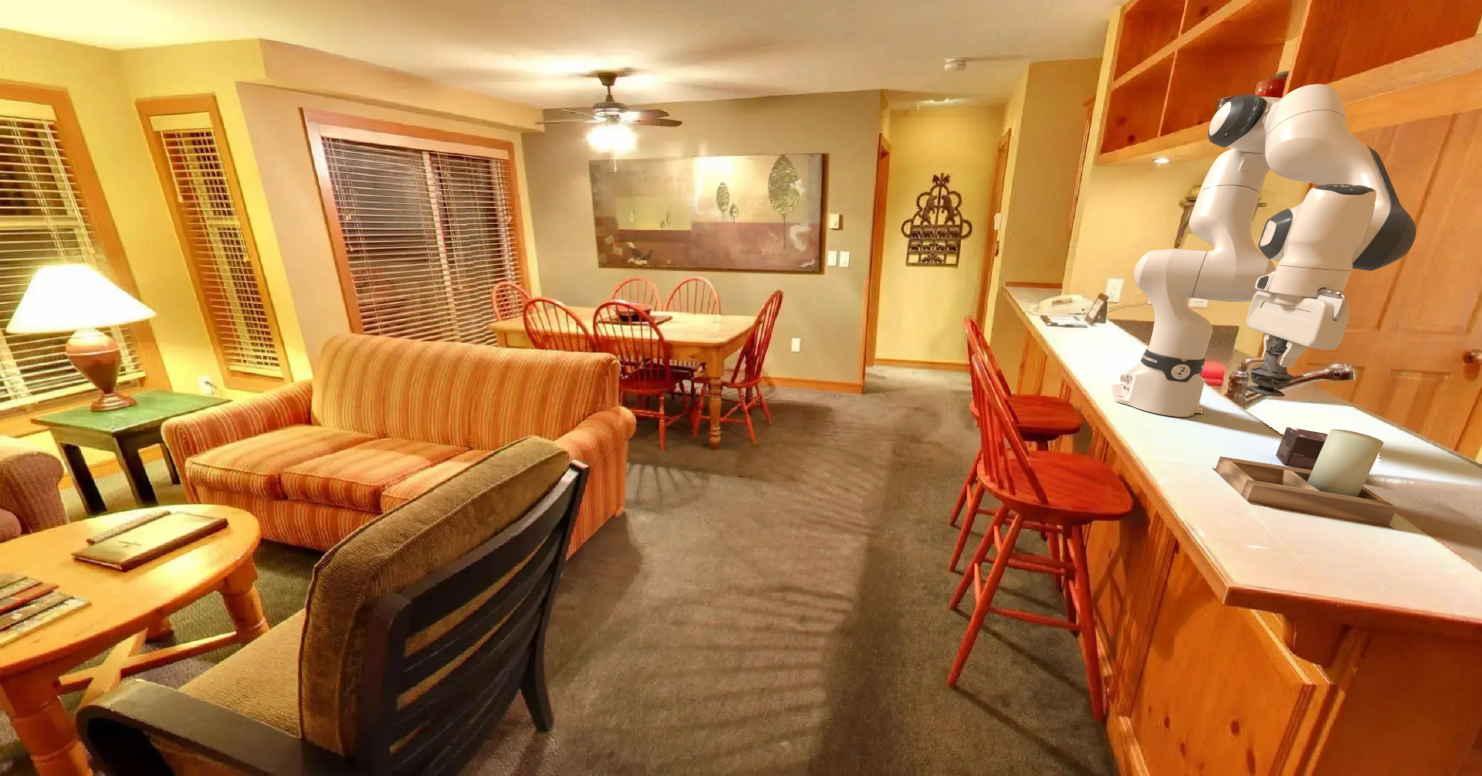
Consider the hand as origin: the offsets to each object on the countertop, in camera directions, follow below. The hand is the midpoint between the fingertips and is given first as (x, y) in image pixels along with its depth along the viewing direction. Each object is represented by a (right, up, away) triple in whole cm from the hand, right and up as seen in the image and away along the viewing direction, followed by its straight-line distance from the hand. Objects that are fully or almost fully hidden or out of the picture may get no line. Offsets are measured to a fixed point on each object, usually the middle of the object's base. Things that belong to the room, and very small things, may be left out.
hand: (1276, 363), depth 95 cm
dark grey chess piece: (0, -5, +2) cm, 6 cm away
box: (+15, -21, +10) cm, 27 cm away
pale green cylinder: (+5, -24, -4) cm, 24 cm away
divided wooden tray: (0, -24, -2) cm, 24 cm away
